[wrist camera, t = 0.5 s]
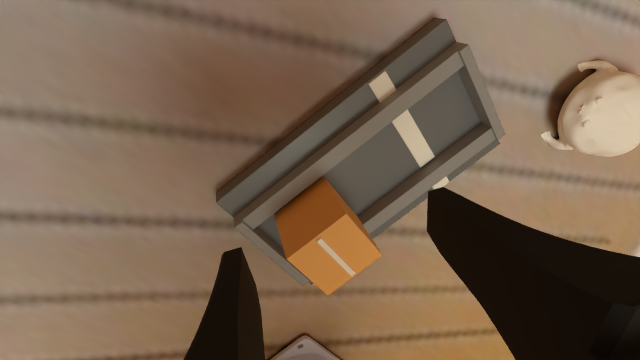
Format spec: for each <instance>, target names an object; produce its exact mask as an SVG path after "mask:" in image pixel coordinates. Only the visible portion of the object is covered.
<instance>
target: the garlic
mask: <svg viewBox="0 0 640 360" xmlns="http://www.w3.org/2000/svg"><path fill="white" fill-rule="evenodd" d="M577 66H578V68H579V70H580V71H581V72H583V71H584V70H586V69H596V72H595V73H593V74H591V75H590V76H588V77H587V78H585V79H584V80H583V81H582V82H581V83H579V84H578V85H577V86H576V87H575V88H574V89H573V90H572V92H571V93H570V94H569V96H568V97H567V99H566V100H565V102H564V104H563V106H562V108H561V111H560V114H559V117H558V121H557V124H558V134H559V139H558V140H556V139H554V138H552V137H551V135H550V131H549V132H545V133H544V134H541V136H542V138H543V139H544V140H545V141H546V142H547V143H548V144H550V145H551V146H552V147H554V148H556V149H561V150H573V149H575V150H577V151H579V152H582V153H588V154H591V155H597V156H605V157H613V156H617V155H621V154H624V153H626V152H629V151H630V150H632V149H634V148H635V147H636V146H637V145H638V144H639V143H640V76H639V75H636V74H630V73H627V72H621V71H618V68H616V67H615V66H613V65H612V64H610V63H608V62H606V61H602V60H597V61H589V62H583V63H581V64H579V65H577Z"/></svg>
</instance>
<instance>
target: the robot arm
mask: <svg viewBox="0 0 640 360" xmlns="http://www.w3.org/2000/svg"><path fill="white" fill-rule="evenodd" d="M427 232H428V234H429V235H430V237H431V239H432V241H433V242H434V244H435V246H436V247H437V249H438V250H439V252H440V253H441V255H442V256H443V257H444V259H445V260H446V261H447V262H448V264H449V265H450V266H451V268H452V269H453V270H454V271H455V273H456V274H457V275H458V276H459V278H460V279H461V280H462V281H463V283H464V284H465V285H466V286H467V288H468V289H469V290H470V291H471V293H472V294H473V295H474V296H475V298H476V299H477V300H478V302H479V303H480V304H481V306H482V307H483V308H484V310H485V311H486V313H487V314H488V316H489V318H490V319H491V321H492V322H493V324H494V325H495V327H496V328H497V330H498V331H499V333H500V335H501V336H502V338H503V340H504V341H505V343H506V345H507V346H508V348H509V349H510V351H511V353H512V354H513V356H514V358H515V359H516V360H640V257H635V256H630V255H625V254H621V253H616V252H611V251H607V250H603V249H599V248H594V247H590V246H587V245H583V244H580V243H576V242H572V241H569V240H566V239H562V238H559V237H556V236H553V235H550V234H547V233H544V232H542V231H539V230H536V229H533V228H531V227H528V226H525V225H523V224H521V223H518V222H516V221H513V220H511V219H509V218H506V217H504V216H502V215H500V214H497V213H495V212H493V211H491V210H489V209H487V208H485V207H483V206H481V205H479V204H476V203H474V202H472V201H470V200H468V199H466V198H464V197H463V196H461V195H459V194H457V193H455V192H452V191H450V190H448V189H446V188H444V187H441V188H437V189H434V190H431V191H428V210H427ZM184 360H265V354H264V342H263V329H262V317H261V309H260V303H259V298H258V293H257V288H256V284H255V281H254V279H253V276H252V274H251V271H250V269H249V266H248V263H247V261H246V258H245V256H244V253H243V251H242V248H241V247H240V248H236V249H233V250H230V251H226V252H224V253H223V255H222V258H221V262H220V266H219V270H218V274H217V278H216V281H215V284H214V288H213V291H212V294H211V297H210V300H209V302H208V305H207V308H206V311H205V313H204V316H203V318H202V321H201V323H200V326H199V328H198V330H197V333H196V335H195V337H194V339H193V342H192V344H191V346H190V348H189V350H188V352H187V354H186V356H185V358H184ZM270 360H340V359H339V358H337V357H336V356H335V355H333V354H332V353H331V352H329V351H328V350H327V349H325V348H324V347H323V346H321V345H320V344H318V343H317V342H316V341H314V340H313V339H312V338H310V337H309V336H306V335H304V336H302V337H300V338H299V339H297V340H296V341H295V342H293V343H292V344H291V345H289V346H288V347H286V348H285V349H284V350H282V351H281V352H280V353H278V354H277V355H276V356H274V357H273V358H272V359H270Z"/></svg>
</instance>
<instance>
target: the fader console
mask: <svg viewBox="0 0 640 360" xmlns="http://www.w3.org/2000/svg"><path fill="white" fill-rule="evenodd" d="M504 135H505V132H504V130H503V127H502V125H501V122H500V120H499V117H498V115H497V113H496V110H495V108H494V105H493V103H492V100H491V98H490V95H489V93H488V91H487V88H486V86H485V83H484V81H483V78H482V76H481V73H480V71H479V69H478V66H477V64H476V61H475V59H474V56H473V54H472V51H471V49H470V47H469V45H468V44H463V43H459V42H456V41H455V38H454V36H453V34H452V31H451V29H450V27H449V24H448V22H447V20H446V19H440V18H434V19H433V20H432V21H431V22H429V23H428V24H427V25H426V26H424V27H423V28H422V29H421V30H419V31H418V32H417V33H415V34H414V35H413V36H412V37H410V38H409V39H408V40H407V41H405V42H404V43H403V44H402V45H400V46H399V47H398V48H397V49H395V50H394V51H393V52H392V53H390V54H389V55H388V56H387V57H385V58H384V59H383V60H382V61H380V62H379V63H378V64H377V65H375V66H374V67H373V68H372V69H370V70H369V71H368V72H367V73H365V74H364V75H363V76H362V77H360V78H359V79H358V80H357V81H355V82H354V83H353V84H352V85H350V86H349V87H348V88H347V89H345V90H344V91H343V92H342V93H340V94H339V95H338V96H337V97H335V98H334V99H333V100H332V101H330V102H329V103H328V104H327V105H325V106H324V107H323V108H322V109H320V110H319V111H318V112H317V113H315V114H314V115H313V116H312V117H310V118H309V119H308V120H307V121H305V122H304V123H303V124H302V125H300V126H299V127H298V128H297V129H295V130H294V131H293V132H292V133H290V134H289V135H288V136H287V137H285V138H284V139H283V140H281V141H280V142H279V143H278V144H276V145H275V146H274V147H273V148H271V149H270V150H269V151H268V152H266V153H265V154H264V155H263V156H261V157H260V158H259V159H258V160H256V161H255V162H254V163H253V164H251V165H250V166H249V167H248V168H246V169H245V170H244V171H243V172H241V173H240V174H239V175H238V176H236V177H235V178H234V179H233V180H231V181H230V182H229V183H228V184H226V185H225V186H224V187H223V188H221V189H220V190H219V191H218V192H216V203H218V204H219V205H220V206H221V207H222V208H223V209H225V210H226V211H227V212H228V213H229V214H230V215H231V216H233V219H234V228H235V229H236V230H237V231H238V232H240V233H241V234H242V235H243V236H244V237H246V238H247V239H248V240H249V241H250V242H251V243H253V244H254V245H255V246H256V247H257V248H259V249H260V250H261V251H262V252H263V253H264V254H266V255H267V256H268V257H269V258H270V259H272V260H273V261H274V262H275V263H276V264H277V265H279V266H280V267H281V268H282V269H283V270H284V271H286V272H287V273H288V274H289V275H290V276H292V277H293V278H294V279H295V280H296V281H297V282H299V283H300V284H301V285H302V286H304V285H305V284H307V283H310V284H311V285H312V284H313V282H312V281H311V280H310V279H308V278H307V277H306V276H305V275H304V274H303V273H302V272H300V271H299V270H298V269H297V268H296V267H295V266H294V265H292V264H291V263H290V262H289V261H288V260H287V259H286V256H285V252H284V248H283V245H282V241H281V238H280V234H279V231H278V227H277V224H276V220H275V217H274V214H276V213H277V212H278V211H279V210H281V209H282V208H283V207H285V206H286V205H287V204H288V203H290V202H291V201H292V200H294V199H295V198H296V197H297V196H299V195H300V194H301V193H303V192H304V191H305V190H306V189H308V188H309V187H310V186H312V185H313V184H314V183H315V182H317V181H318V180H319V179H321V178H322V177H323V176H324V177H325V178H326V180H327V181H328V182H329V183H330V184H331V186H332V187H333V188H334V189H335V190H336V191H337V193H338V194H339V195H340V196H341V197H342V198H343V200H344V201H345V202H346V203H347V204H348V206H349V207H350V208H351V209H352V210H353V211H354V213H355V214H356V215H357V217H358V218H359V220H360V221H361V223H362V224H363V226H364V228H365V229H366V231H367V232H368V234H369V235H370V237H371V238H372V239H373V238H374V237H376V236H377V235H378V234H380V233H381V232H382V231H384V230H385V229H386V228H388V227H389V226H390V225H392V224H393V223H394V222H396V221H397V220H399V219H400V218H401V217H403V216H404V215H405V214H407V213H408V212H409V211H411V210H412V209H413V208H415V207H416V206H417V205H419V204H420V203H421V202H423V201H424V200H425V199H427V198H428V191H431V190H434V189H437V188H441V187H443V186H444V185H446V184H447V183H448V182H449V181H451V180H452V179H453V178H455V177H456V176H457V175H459V174H460V173H461V172H463V171H464V170H465V169H467V168H468V167H469V166H471V165H472V164H473V163H475V162H476V161H477V160H479V159H480V158H481V157H483V156H484V155H485V154H487V153H488V152H489V151H491V150H492V149H493V148H495V147H496V146H497V145H499V144H500V143H499V141H498V140H499V139H500V138H501V137H503V136H504Z"/></svg>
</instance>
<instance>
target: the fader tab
mask: <svg viewBox="0 0 640 360" xmlns="http://www.w3.org/2000/svg"><path fill="white" fill-rule="evenodd" d="M274 217H275V220H276V224H277V227H278V231H279V234H280V238H281V241H282V245H283V248H284V252H285V256H286V259H287V260H288V261H289V262H290V263H291V264H292V265H294V266H295V267H296V268H297V269H298V270H299V271H300V272H302V273H303V274H304V275H305V276H306V277H307V278H308V279H310V280H311V281H312V282H313V283H314V284H315V285H316V286H318V287H319V288H320V289H321V290H322V291H323V292H324V293H325V294H327V295H329V294H331V293H332V292H334V291H335V290H336V289H338V288H339V287H340V286H342V285H343V284H344V283H346V282H347V281H348V280H350V279H351V278H352V277H354V276H355V275H356V274H358V273H359V272H361V271H362V270H363V269H365V268H366V267H367V266H369V265H370V264H371V263H373V262H374V261H375V260H377V259H378V258H379V257H381V256H382V254H381V252H380V251H379V249H378V248H377V246H376V244H375V243H374V241H373V240H372V238H371V237H370V235H369V234H368V232H367V231H366V229H365V228H364V226H363V224H362V223H361V221H360V220H359V218H358V217H357V215H356V214H355V213H354V211H353V210H352V209H351V208H350V207H349V206H348V204H347V203H346V202H345V201H344V200H343V198H342V197H341V196H340V195H339V194H338V193H337V191H336V190H335V189H334V188H333V187H332V186H331V184H330V183H329V182H328V181H327V180H326V178H325V177H324V176H323V177H322V178H321V179H319V180H318V181H317V182H315V183H314V184H313V185H312V186H310V187H309V188H308V189H306V190H305V191H304V192H303V193H301V194H300V195H299V196H297V197H296V198H295V199H294V200H292V201H291V202H290V203H288V204H287V205H286V206H285V207H283V208H282V209H281V210H279V211H278V212H277V213H276V214H274Z"/></svg>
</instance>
